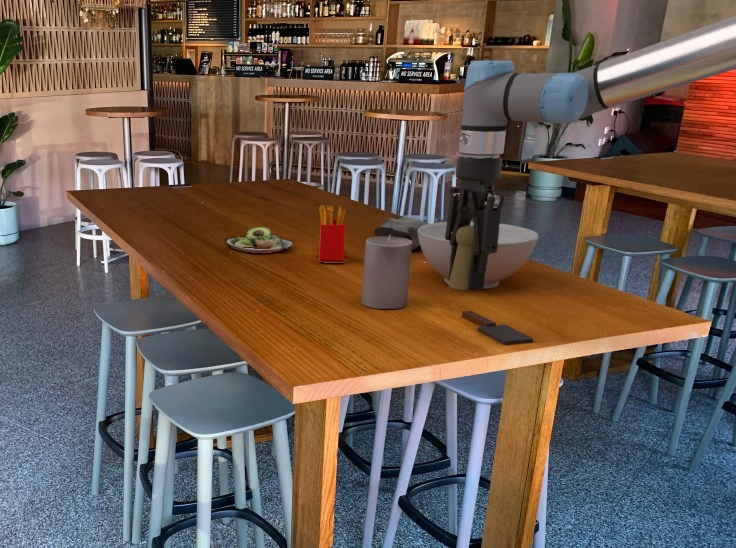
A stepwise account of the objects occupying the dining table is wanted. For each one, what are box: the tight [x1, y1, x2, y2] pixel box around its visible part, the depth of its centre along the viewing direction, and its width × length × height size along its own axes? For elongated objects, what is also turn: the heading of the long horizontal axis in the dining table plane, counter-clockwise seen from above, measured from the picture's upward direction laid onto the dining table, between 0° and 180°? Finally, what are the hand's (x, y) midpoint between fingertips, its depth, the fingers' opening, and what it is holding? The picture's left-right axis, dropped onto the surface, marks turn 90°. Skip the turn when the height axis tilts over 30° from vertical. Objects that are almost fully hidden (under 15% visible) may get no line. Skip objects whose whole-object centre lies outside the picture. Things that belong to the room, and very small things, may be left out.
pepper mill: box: [447, 226, 482, 291], centre depth 144 cm, size 6×6×11 cm
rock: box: [373, 215, 429, 251], centre depth 224 cm, size 18×11×8 cm, turn 18°
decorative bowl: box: [418, 220, 540, 290], centre depth 185 cm, size 27×27×12 cm
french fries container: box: [318, 204, 348, 263], centre depth 207 cm, size 7×9×14 cm
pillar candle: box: [361, 234, 413, 310], centre depth 168 cm, size 10×10×15 cm
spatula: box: [461, 310, 534, 346], centre depth 154 cm, size 18×6×1 cm, turn 15°
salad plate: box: [226, 226, 293, 252], centre depth 223 cm, size 19×18×5 cm
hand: (465, 284), depth 146 cm, fingers closed on pepper mill, 6 cm apart
